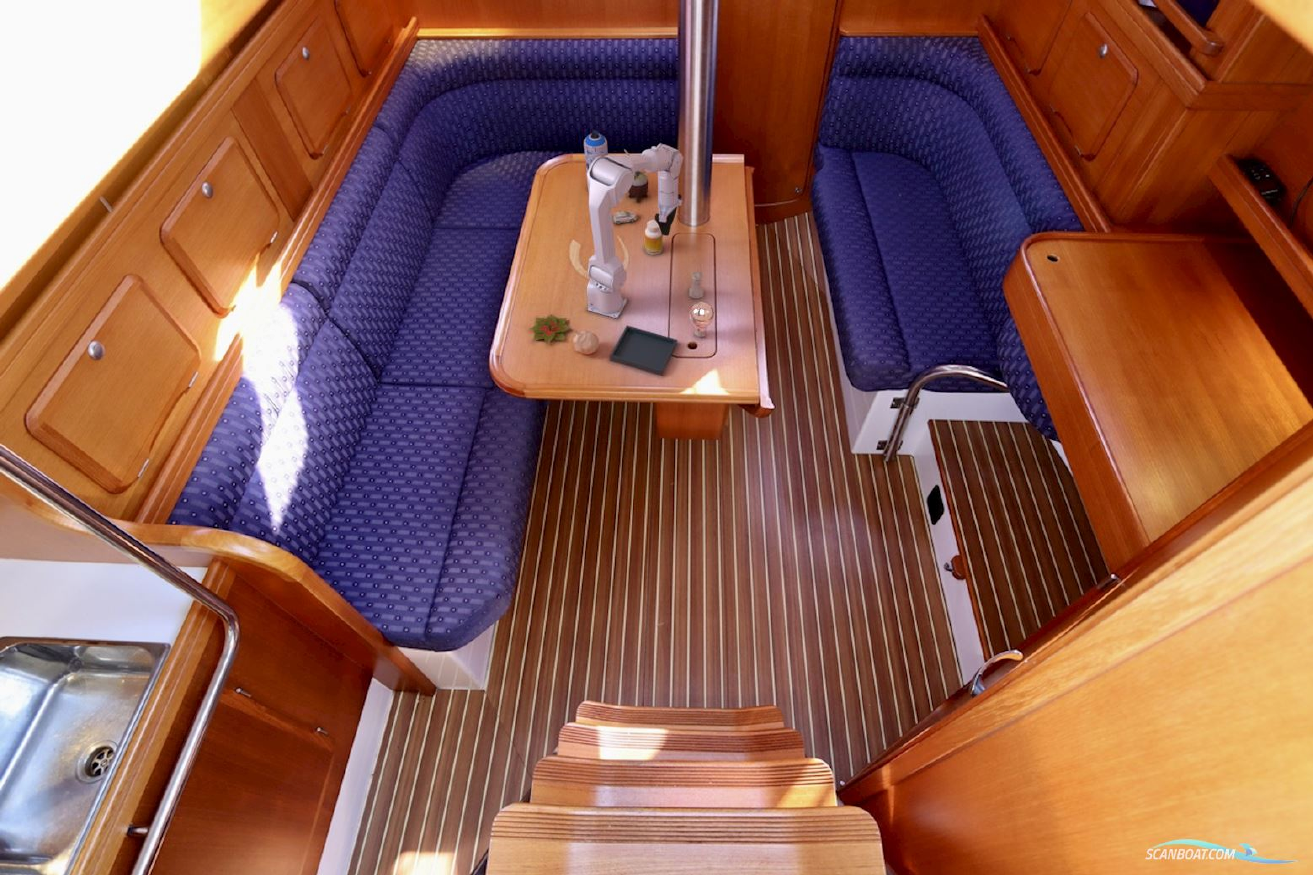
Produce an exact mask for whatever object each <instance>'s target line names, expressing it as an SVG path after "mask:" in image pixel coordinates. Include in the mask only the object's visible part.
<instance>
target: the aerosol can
mask: <svg viewBox="0 0 1313 875" xmlns="http://www.w3.org/2000/svg"><path fill="white" fill-rule="evenodd" d="M583 148H584V158H585V159H584V160H585V168H586V173H587V172H588V170H589V168H590V165H591V163H592V162H593V161H594V159H596V158H597V157H603V158H605V159H606V157H605V156H606V155H609V153H608V141H607V138H606V137H605V136H604V135H603V134H601V133H599V131H598V130H596V129H593V130H591V131H590V134H588V135H587V136H586V137H585V138H584V140H583ZM606 160H607V159H606ZM587 190H588V191H589V189H588V188H587Z"/></svg>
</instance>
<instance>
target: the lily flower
mask: <svg viewBox="0 0 1313 875" xmlns="http://www.w3.org/2000/svg"><path fill="white" fill-rule="evenodd" d="M567 319H568V317H559V318H556V316H554V315H553V314H551V315H550V314H549V315H548V316H546V317H536V318H535V320H536V324H535V325H533V326H532V327H531V328H530V330H531V331H533V332H535V333H534V335H533V339H532V342H533V341H537V340H538V341H539V340H543V339H544V341H545V343H546V345H549V344H550V342H552V340H557V341H563V342H565V337H564V332H566V331H569V330H571V328H569V327H568V326H567V325H566V322H567Z"/></svg>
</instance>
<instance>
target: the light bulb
mask: <svg viewBox="0 0 1313 875" xmlns="http://www.w3.org/2000/svg"><path fill="white" fill-rule="evenodd" d="M688 318H689V321H690V323H691V324H692V325H693V331H694V332H693V333H694V335H695V336H696V337H699V338H702V337H703V338H704V337H705V336H706V334H707V329H708V327H709V326H710V325H711V324H712V322H713V321H714V319H715V310H714V307H713V306H712V305H711V304H710V302H709V303H708V302H707V301H703V300H701V301H700V300H699V301H697V302H695V303H693V304H692V305H691V306H690V308H689V311H688Z"/></svg>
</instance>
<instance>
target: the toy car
mask: <svg viewBox="0 0 1313 875" xmlns="http://www.w3.org/2000/svg"><path fill="white" fill-rule="evenodd" d="M637 220H638V216H637V214H636V213H635V212H634V211H627V210H622V211H614V212H613V213H612V222H613V224H616V225H617V226H618V225H621V224H625V223H634V222H636V221H637Z"/></svg>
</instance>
